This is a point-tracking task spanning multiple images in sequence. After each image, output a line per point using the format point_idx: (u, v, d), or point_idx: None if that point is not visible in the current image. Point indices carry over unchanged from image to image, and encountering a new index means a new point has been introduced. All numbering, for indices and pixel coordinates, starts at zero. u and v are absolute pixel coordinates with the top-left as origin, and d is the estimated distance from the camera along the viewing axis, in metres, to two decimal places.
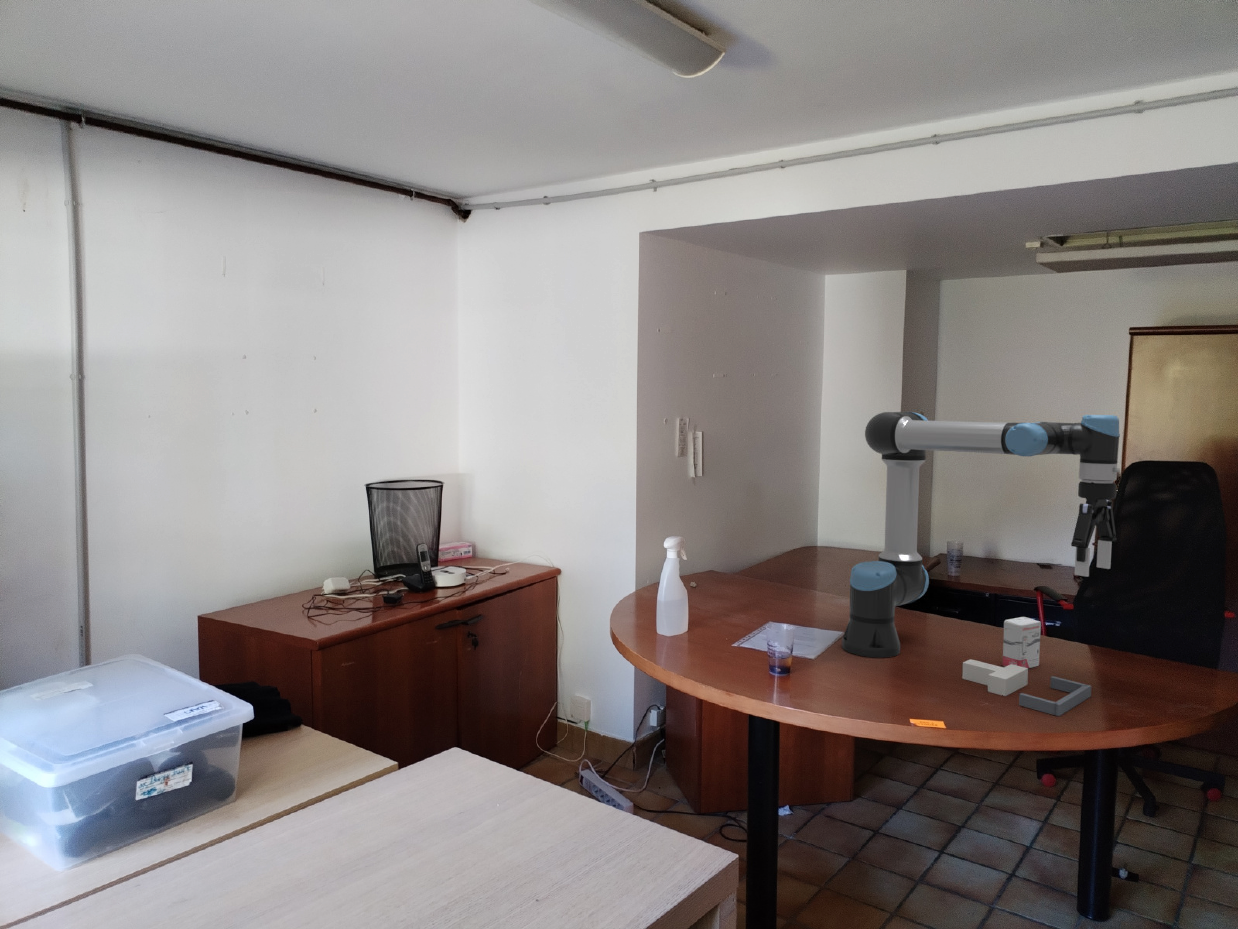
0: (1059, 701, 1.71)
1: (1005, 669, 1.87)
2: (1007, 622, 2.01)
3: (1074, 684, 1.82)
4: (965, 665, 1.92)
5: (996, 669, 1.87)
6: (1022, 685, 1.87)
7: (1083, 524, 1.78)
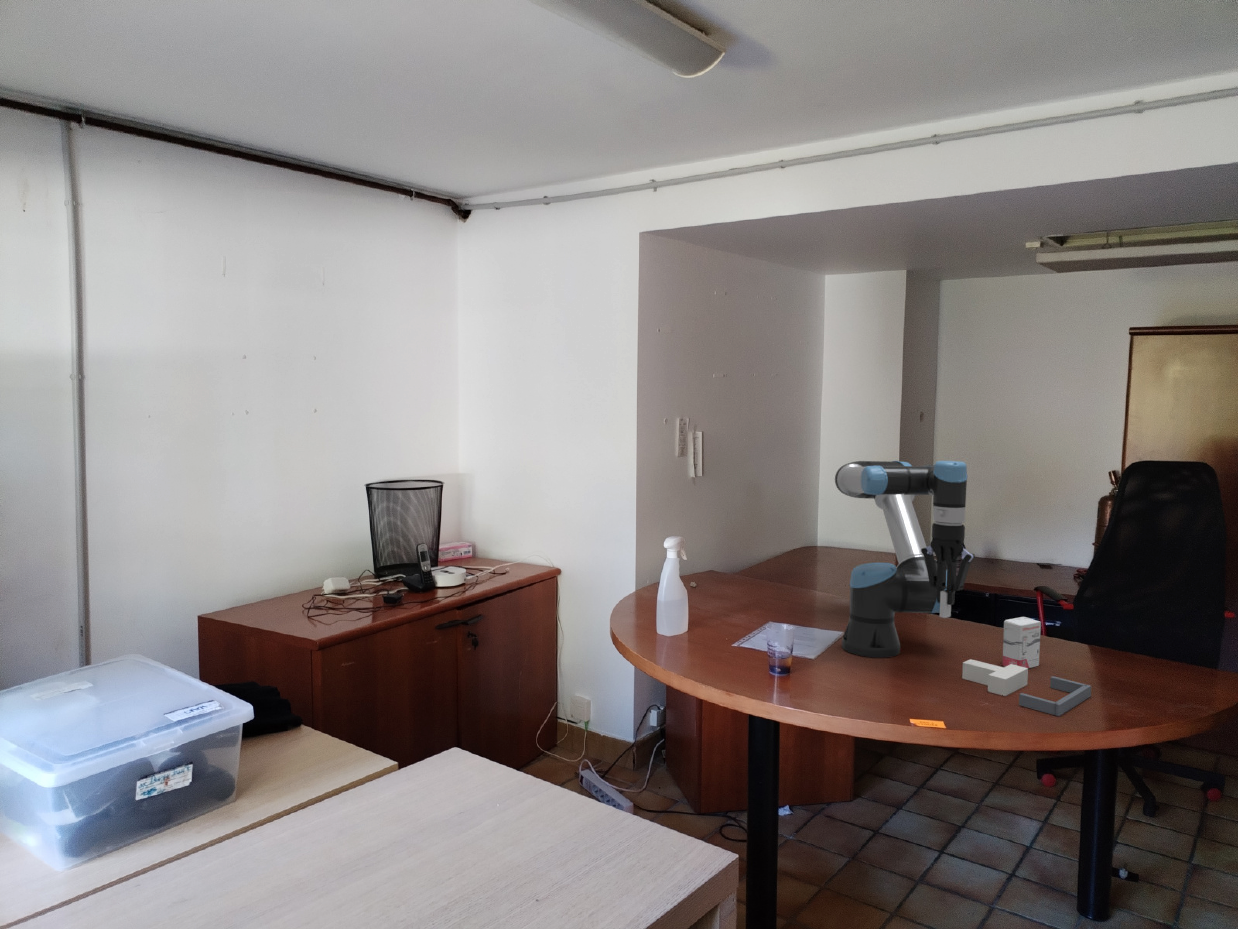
0: (1059, 701, 1.71)
1: (1005, 669, 1.87)
2: (1007, 622, 2.01)
3: (1074, 684, 1.82)
4: (965, 665, 1.92)
5: (996, 669, 1.87)
6: (1022, 685, 1.87)
7: None
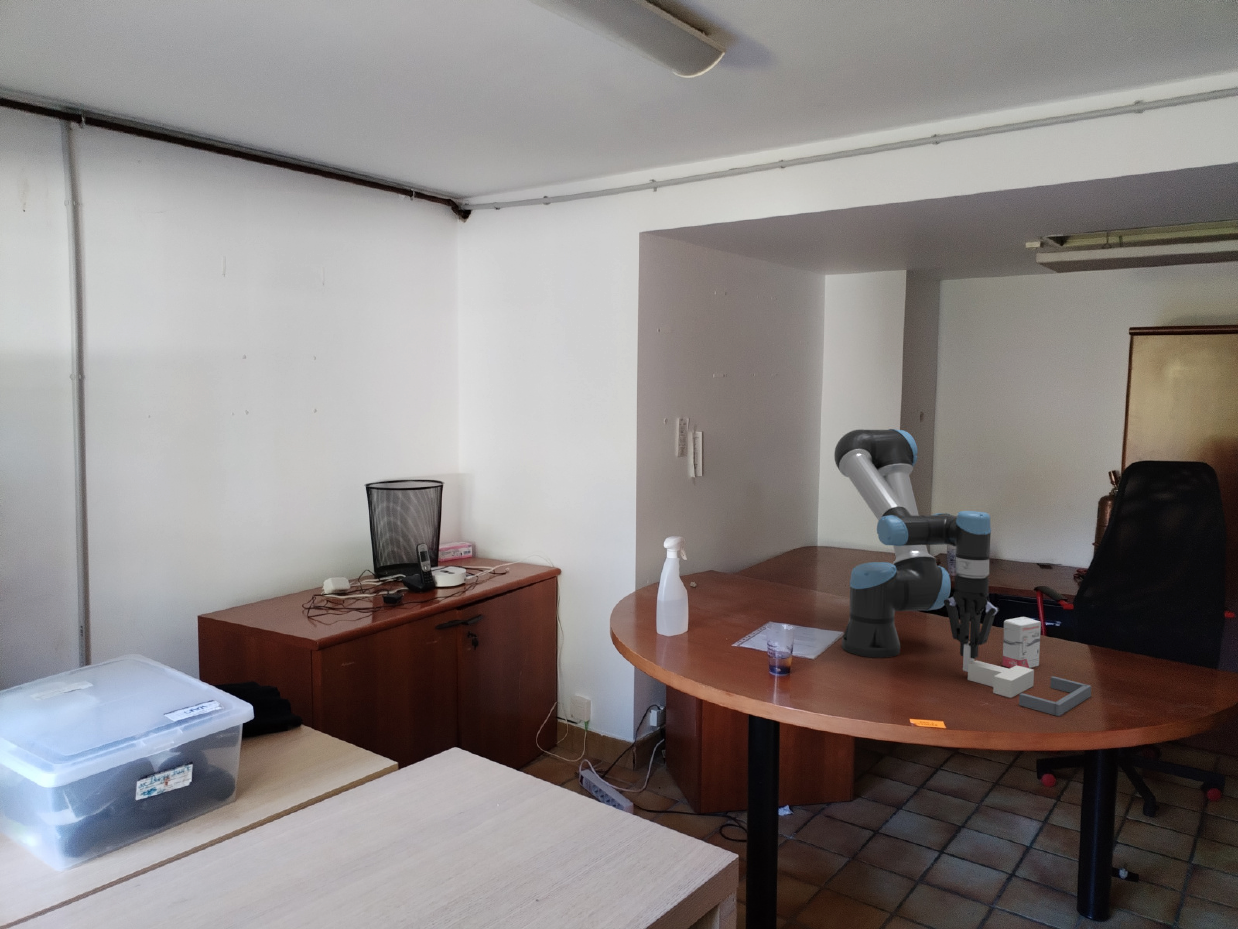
0: (1059, 701, 1.71)
1: (1011, 670, 1.86)
2: (1007, 622, 2.01)
3: (1074, 684, 1.82)
4: (970, 666, 1.91)
5: (1001, 670, 1.86)
6: (1028, 686, 1.86)
7: None
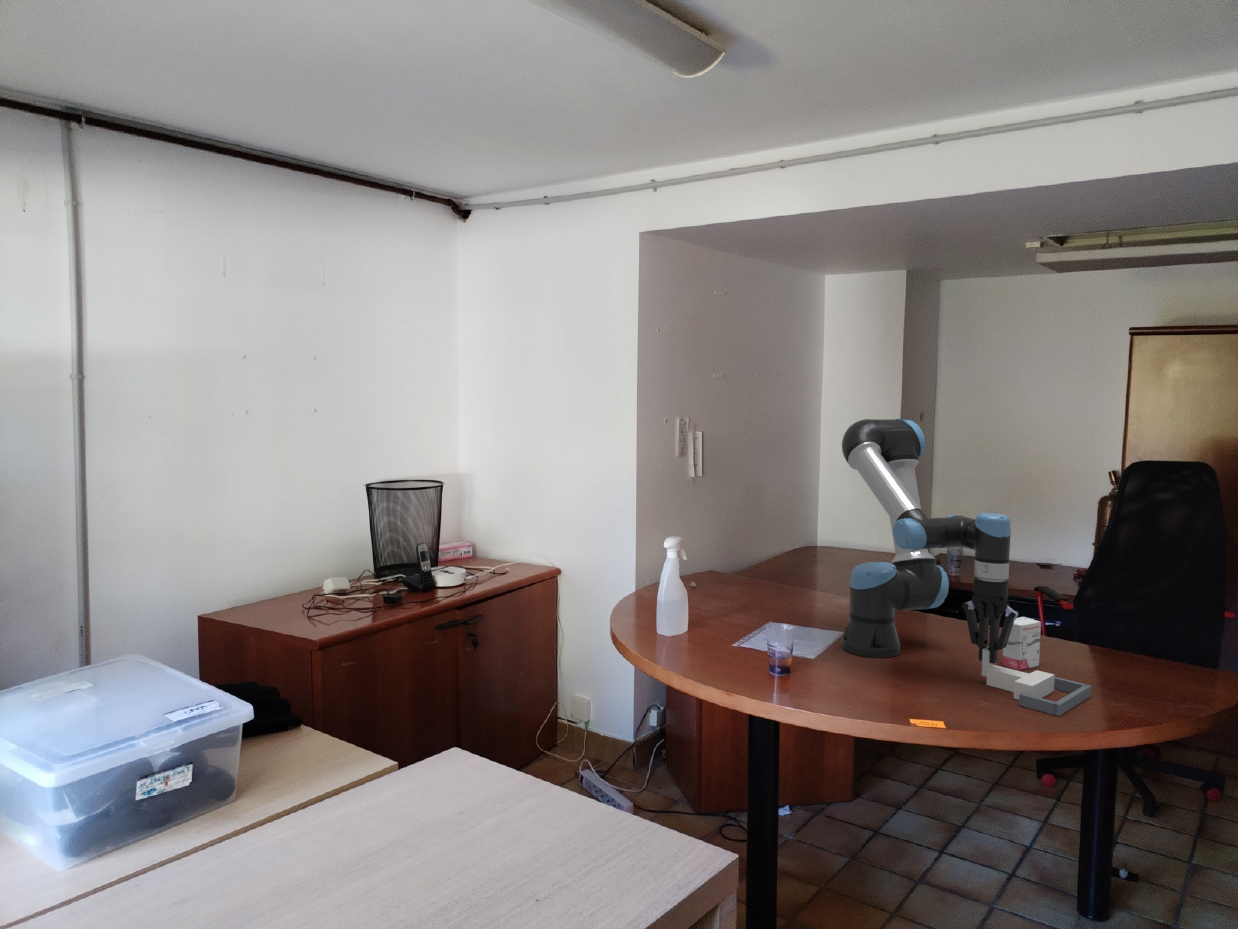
0: (1059, 701, 1.71)
1: (1031, 675, 1.83)
2: None
3: (1074, 684, 1.82)
4: (989, 671, 1.87)
5: (1021, 675, 1.83)
6: (1049, 692, 1.82)
7: None
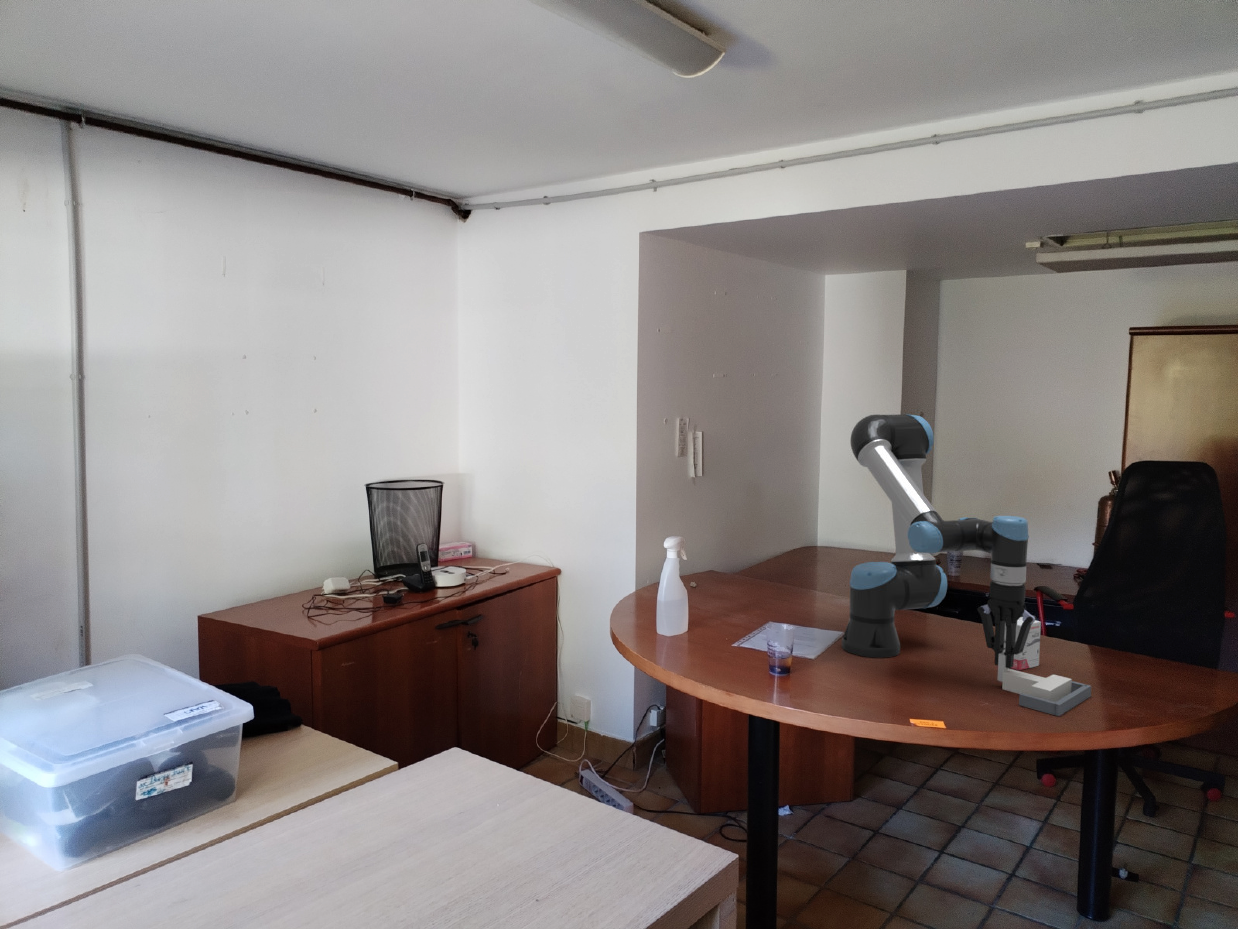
0: (1059, 701, 1.71)
1: (1048, 680, 1.80)
2: None
3: (1074, 684, 1.82)
4: (1005, 675, 1.84)
5: (1038, 680, 1.80)
6: None
7: None
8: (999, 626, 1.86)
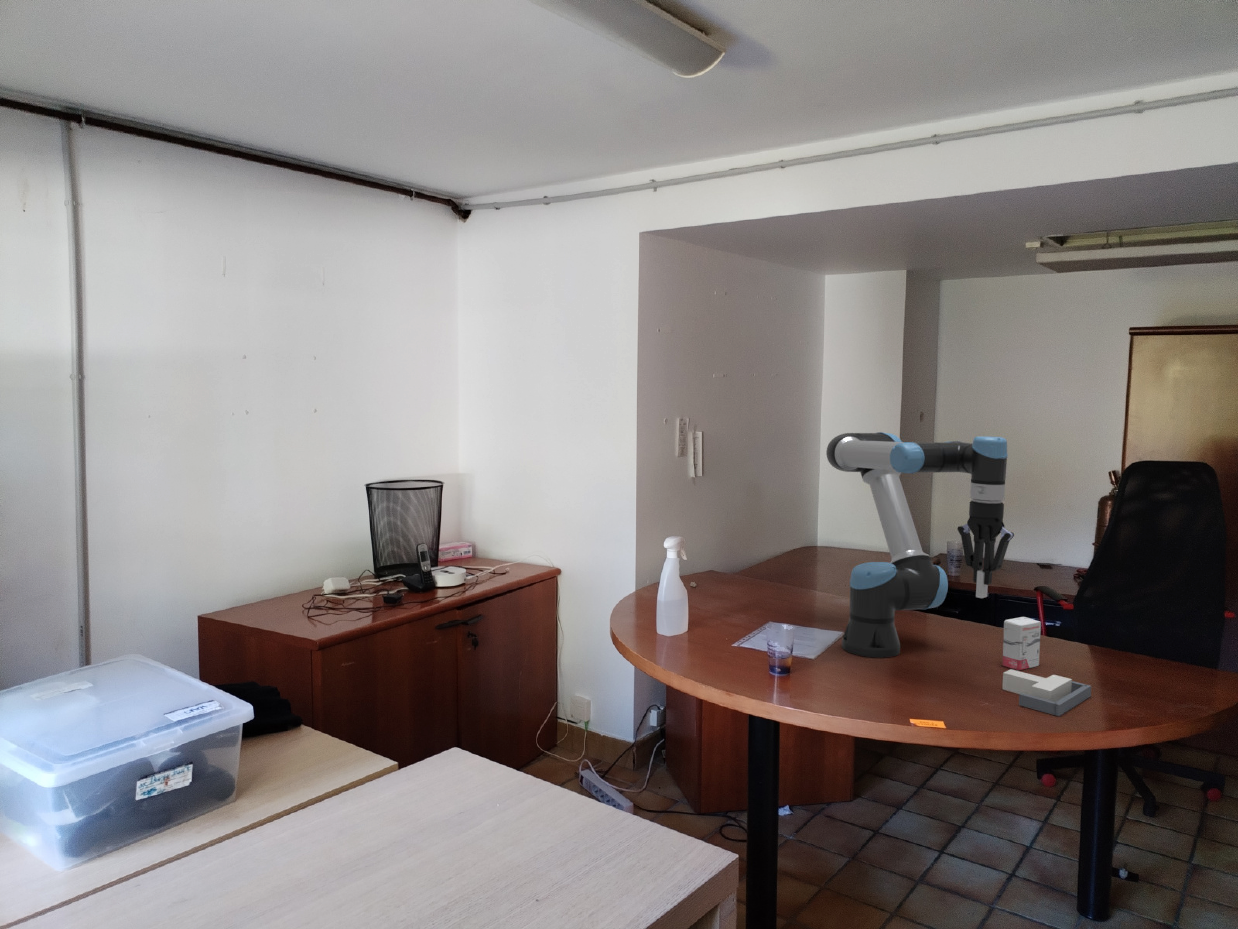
0: (1059, 701, 1.71)
1: (1048, 680, 1.80)
2: (1007, 622, 2.01)
3: (1074, 684, 1.82)
4: (1005, 675, 1.84)
5: (1038, 680, 1.80)
6: None
7: None
8: (978, 544, 1.90)
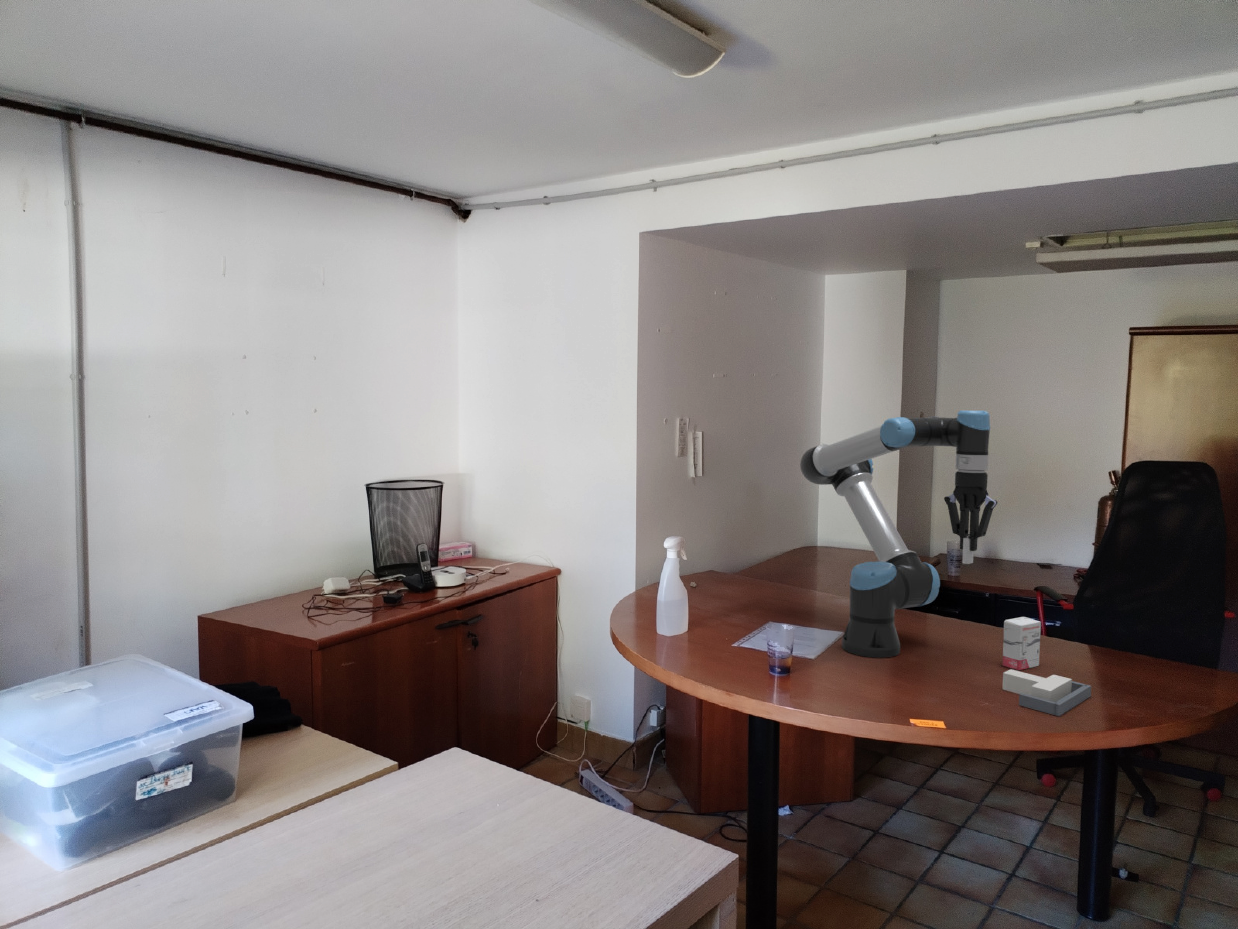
0: (1059, 701, 1.71)
1: (1048, 680, 1.80)
2: (1007, 622, 2.01)
3: (1074, 684, 1.82)
4: (1005, 676, 1.84)
5: (1038, 680, 1.80)
6: None
7: None
8: (964, 512, 2.00)
